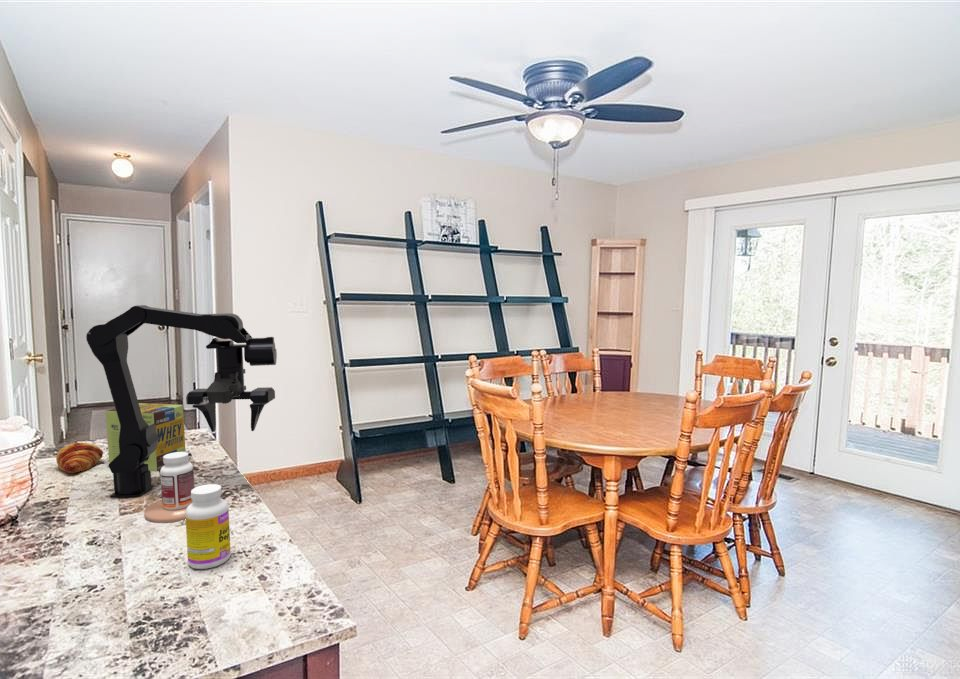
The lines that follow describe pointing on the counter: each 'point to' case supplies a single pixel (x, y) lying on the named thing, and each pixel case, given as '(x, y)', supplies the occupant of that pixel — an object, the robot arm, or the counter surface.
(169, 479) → the pill bottle
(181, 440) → the protein box
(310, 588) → the counter surface
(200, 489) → the supplement bottle
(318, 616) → the counter surface
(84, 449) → the croissant
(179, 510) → the terracotta plate
